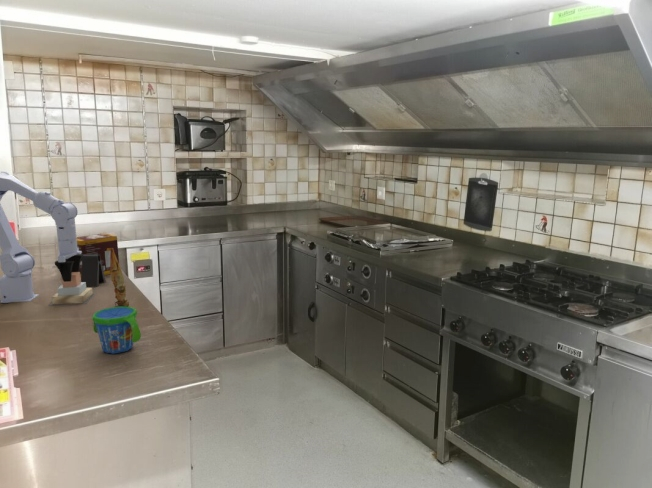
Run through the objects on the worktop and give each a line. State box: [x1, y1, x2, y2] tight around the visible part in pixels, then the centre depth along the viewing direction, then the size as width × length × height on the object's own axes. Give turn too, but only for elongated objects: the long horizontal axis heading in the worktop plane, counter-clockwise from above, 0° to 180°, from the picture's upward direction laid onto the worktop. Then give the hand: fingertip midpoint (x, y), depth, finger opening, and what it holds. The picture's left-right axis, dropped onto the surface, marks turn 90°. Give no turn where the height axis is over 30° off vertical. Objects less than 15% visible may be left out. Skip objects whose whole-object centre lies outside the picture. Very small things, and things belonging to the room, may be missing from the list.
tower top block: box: [57, 282, 87, 296], centre depth 179 cm, size 7×7×2 cm
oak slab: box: [51, 287, 94, 305], centre depth 180 cm, size 10×10×2 cm
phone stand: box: [81, 254, 107, 288], centre depth 198 cm, size 9×6×12 cm, turn 2°
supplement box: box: [76, 232, 120, 278], centre depth 216 cm, size 10×15×16 cm
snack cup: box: [91, 306, 142, 355], centre depth 137 cm, size 16×10×10 cm
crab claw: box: [109, 248, 130, 307], centre depth 172 cm, size 7×5×20 cm
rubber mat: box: [48, 293, 97, 306], centre depth 180 cm, size 12×12×1 cm
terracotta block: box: [61, 272, 81, 287], centre depth 179 cm, size 4×4×4 cm
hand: (71, 278), depth 178 cm, fingers open, 7 cm apart
